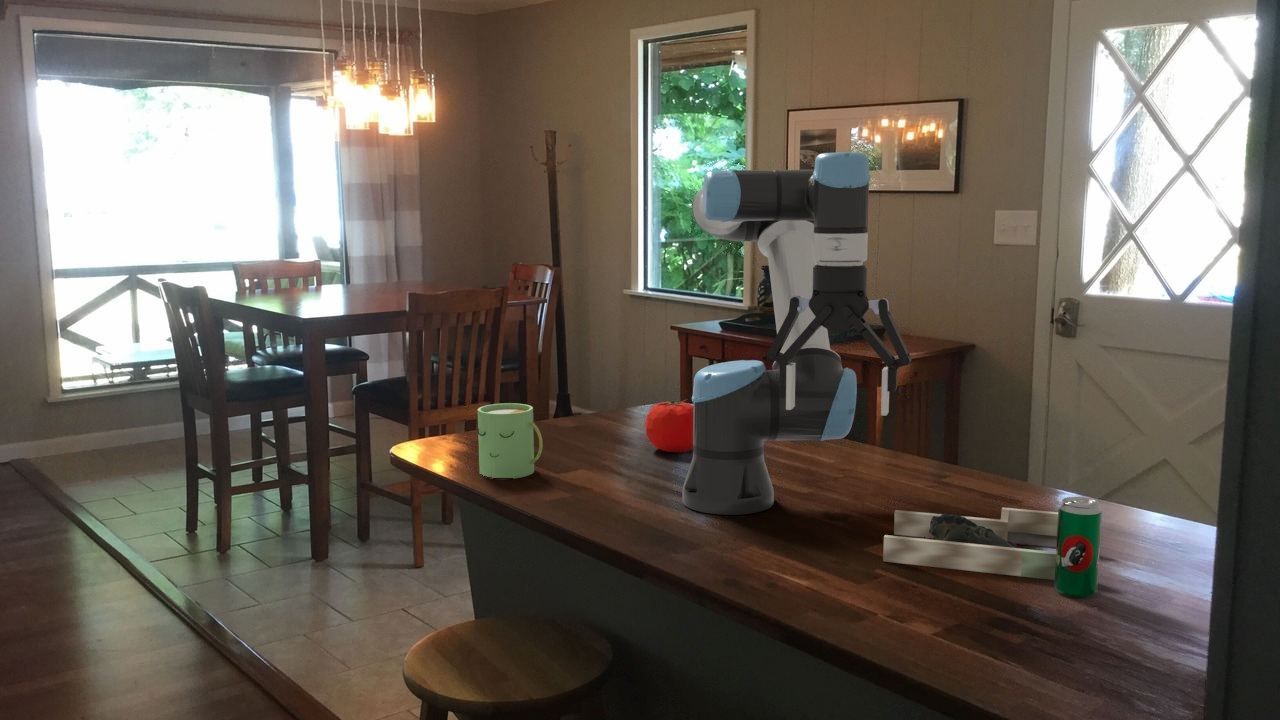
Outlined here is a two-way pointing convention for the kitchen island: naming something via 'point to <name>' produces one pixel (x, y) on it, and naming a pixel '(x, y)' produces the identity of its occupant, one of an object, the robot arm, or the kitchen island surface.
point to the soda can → (1077, 547)
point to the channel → (976, 557)
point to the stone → (964, 531)
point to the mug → (507, 440)
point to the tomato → (671, 426)
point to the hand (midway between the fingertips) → (836, 411)
